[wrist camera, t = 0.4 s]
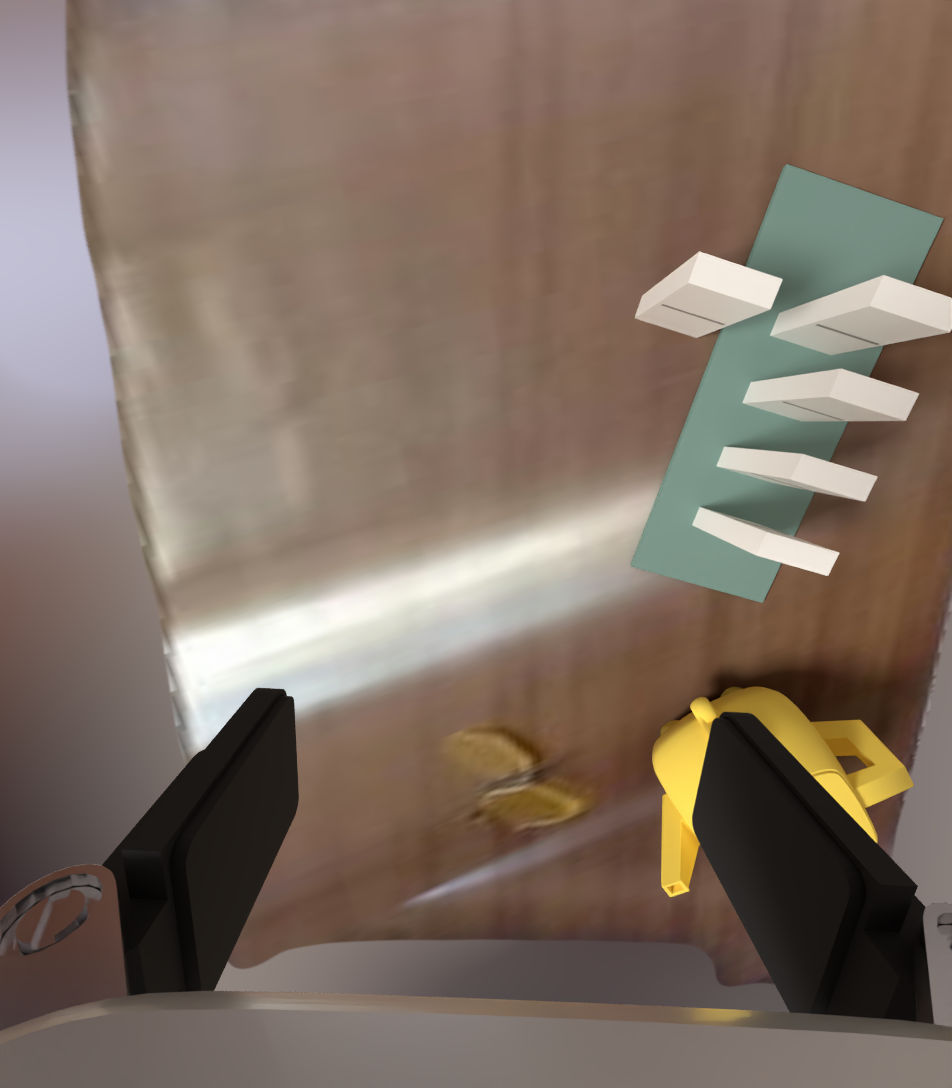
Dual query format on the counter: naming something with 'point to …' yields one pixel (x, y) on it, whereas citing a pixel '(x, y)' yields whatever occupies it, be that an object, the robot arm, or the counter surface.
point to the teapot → (805, 740)
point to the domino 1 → (707, 296)
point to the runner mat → (753, 355)
